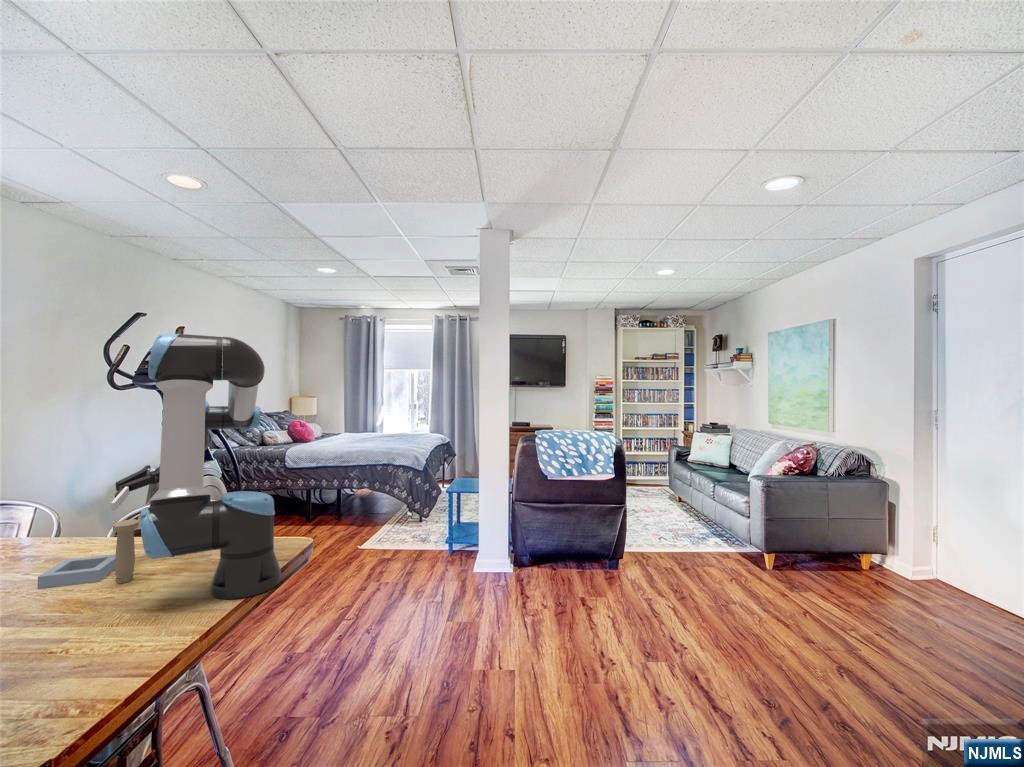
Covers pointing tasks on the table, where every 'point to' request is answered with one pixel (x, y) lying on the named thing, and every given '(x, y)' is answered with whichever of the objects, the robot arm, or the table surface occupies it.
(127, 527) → the handle
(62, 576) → the socket block
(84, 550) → the table surface
